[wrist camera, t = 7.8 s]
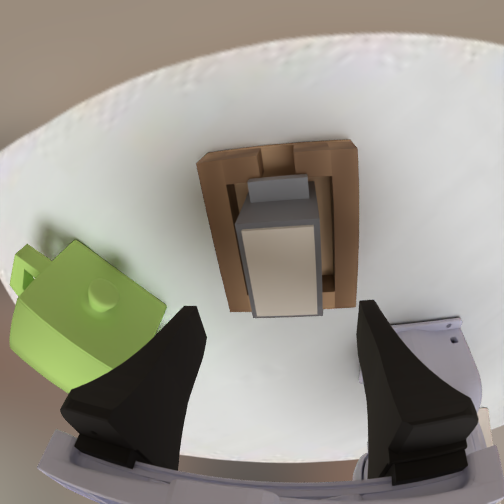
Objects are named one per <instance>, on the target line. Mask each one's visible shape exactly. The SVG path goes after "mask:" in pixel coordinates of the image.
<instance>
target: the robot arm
mask: <svg viewBox="0 0 504 504" xmlns="http://www.w3.org/2000/svg"><path fill="white" fill-rule="evenodd" d="M461 325H462V320H461V318H453V319H445V320H438V321H429V322H421V323H411V324H402V325H390V324H389V322H388V321H387V319H386V318H385V316H384V315H383V313H382V312H381V310H380V308H379V307H378V305H377V304H376V302H375V301H374V300H363V301H360V302H359V313H358V324H357V334H356V335H357V347H358V356H359V362H360V373H359V383H362V384H364V388H365V394H366V400H367V413H368V442H367V445H368V453H365V454H364V455H362V456H361V457H360V459H359V460H358V462H357V465H356V468H355V470H354V474H353V481H342V482H318V483H285V482H262V481H261V482H260V481H247V480H236V479H228V478H219V477H212V476H205V475H198V474H193V473H187V472H182V471H178V464H179V453H180V445H181V438H182V431H183V425H184V420H185V415H186V410H187V405H188V401H189V398H190V394H191V391H192V388H193V385H194V383H195V380H196V377H197V374H198V371H199V368H200V365H201V362H202V359H203V355H204V351H205V345H206V340H207V336H206V333H205V330H204V327H203V324H202V321H201V318H200V315H199V312H198V309H197V306H184V307H183V308H182V309H181V310H180V311H179V312H178V313H177V314H176V315H175V316H174V317H173V318H172V319H171V320H170V321H169V322H168V323H167V324H166V325H165V326H164V327H163V328H162V329H161V330H160V331H159V332H158V333H157V334H156V335H155V336H154V337H153V338H152V339H151V340H150V341H149V342H148V343H147V344H146V345H144V346H143V347H142V348H141V349H140V350H139V351H138V352H136V353H135V354H134V355H133V356H131V357H130V358H129V359H127V360H126V361H125V362H123V363H122V364H120V365H118V366H117V367H115V368H114V369H112V370H111V371H109V372H108V373H106V374H104V375H102V376H100V377H98V378H97V379H95V380H93V381H90V382H88V383H86V384H84V385H81V386H79V387H76V388H74V389H71V391H70V393H69V394H68V396H67V398H66V400H65V402H64V403H63V405H62V407H61V409H60V411H61V414H62V416H63V417H64V418H65V420H66V421H67V422H68V423H69V424H70V425H71V426H72V427H73V428H74V429H75V430H76V431H77V432H78V433H79V436H78V438H76V437H74V436H72V435H70V434H68V433H65V432H63V431H60V430H57V429H56V430H55V431H54V433H53V435H52V437H51V439H50V441H49V443H48V445H47V447H46V450H45V451H44V454H43V455H42V458H41V460H40V462H39V464H38V466H37V468H38V469H39V470H40V471H41V472H43V473H44V474H46V475H47V476H49V477H50V478H52V479H53V480H55V481H56V482H58V483H59V484H61V485H63V486H64V487H66V488H67V489H69V490H71V491H73V492H75V493H78V494H80V495H82V496H84V497H86V498H89V499H91V500H93V501H95V502H98V503H100V504H496V503H497V502H499V501H501V500H502V499H504V477H503V472H502V467H501V462H500V458H499V453H498V449H497V446H496V445H493V446H490V447H487V446H486V442H485V439H484V435H483V432H482V429H481V426H480V424H479V421H478V420H479V418H478V415H477V413H478V411H479V408H480V404H481V399H482V385H481V379H480V375H479V372H478V369H477V366H476V364H475V361H474V359H473V356H472V354H471V351H470V349H469V347H468V344H467V342H466V340H465V337H464V335H463V333H462V331H461Z"/></svg>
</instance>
